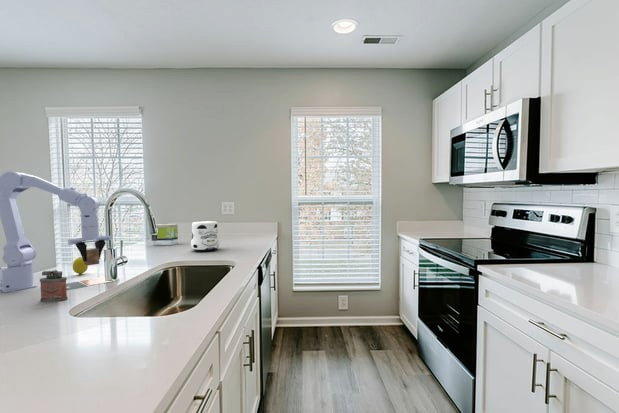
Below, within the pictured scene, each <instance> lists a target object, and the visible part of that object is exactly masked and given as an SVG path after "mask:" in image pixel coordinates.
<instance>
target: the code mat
mask: <svg viewBox="0 0 619 413" xmlns="http://www.w3.org/2000/svg"><path fill="white" fill-rule="evenodd" d="M86 287H87V288H88V287H89V285H87V284H84V283H82V282H80V281H74V282H68V283H67V282H66V289H67V291H73V290H76V289H81V288H86ZM39 289H40V290H41V287H40V288H39Z"/></svg>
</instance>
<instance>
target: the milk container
mask: <svg viewBox="0 0 619 413" xmlns="http://www.w3.org/2000/svg"><path fill="white" fill-rule="evenodd" d="M218 229H219V228H218V222H217V221H214V220H213V221H212V220H211V221H210V220H209V221H206V220H204V221H194V222H192V224H191V241H190V249H191V250H192V251H195V252H209V251H215V250H217V249H218V248H219V247H220V238H219V235H218V232H219V230H218Z"/></svg>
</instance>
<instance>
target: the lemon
mask: <svg viewBox="0 0 619 413" xmlns="http://www.w3.org/2000/svg"><path fill="white" fill-rule="evenodd" d="M88 267H89V265H85V264H84V261H83V259H82V256H79V257H78V258H76V259H75V260H74V261H73V262H72V270H73V272H74V273H76V274H78V275H83V274H84V273H85V272H87V270H88Z"/></svg>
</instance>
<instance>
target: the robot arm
mask: <svg viewBox="0 0 619 413" xmlns="http://www.w3.org/2000/svg"><path fill="white" fill-rule="evenodd" d="M30 188H37V189H40V190H43V191H46V192H49V193H51V194H53V195H55V196H57V197H58V199H59V200H60V201H62V202H63V203H67V204H69V205H73V207H78V209H79V210H80V223H81V224H80V225H81V226H80V229H81V237H76V238H68V239H67V244H68V245H69V246H70V245H75V246H76V249H77V250H78V251H79V254H80V257H82V259H83V261H84V262H86V261H87V255H86V249H88V248H87V247H88V245H87V244H88V243H94V246H95V247H94V248H97V249H99V260H101V256H102V252H103V249H104V247H105V246H106V242H107V241H112V240H111V239H112V235H110V236H108V235H100V230H99V227H100V226H99V208H100V205H101V202H100V200H99V198H97V197H96V196H94V195H90V196H89V194H88V193H86V192H84V193H83V192H81V191H79V190H76V187H74V186H70V187H69V186H65V187H60V186H59V185H57V184H54V183H52V182H50V181H48V180H46V179H43V178H41V177H39V176H36V175H32V174H29V173H26V172H16V171H12V170H9V171H5V172H3V173H2V174H1V175H0V220H1V225H2V229H3V232H4V236H5V240H6V242H5V244H4V246H3V248H2V250H3V255H2V261H3V262H4V264H5V265H6V266H1V267H0V291H2V292H3V293H9V292H15V291H21V290H25V289H31V288H37V287H38V285H37V284H36V283H34V281H35V280H34V264H33V263H34V262H33V261H34V259H35V258H36V257H37V256H36V255H37V250H36V249H35V248H34V247H33V246H32V242H31V241H30V240H29V239H28V238H26V234H25V230H24V225H23V224H22V223H23V222H22V218H21V215H20V211H19V208H18V204H17V199H16V198H17V197H19V196H20V195H21V193H23V192H25V191H27V190H29V189H30ZM86 243H87V244H86Z"/></svg>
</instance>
